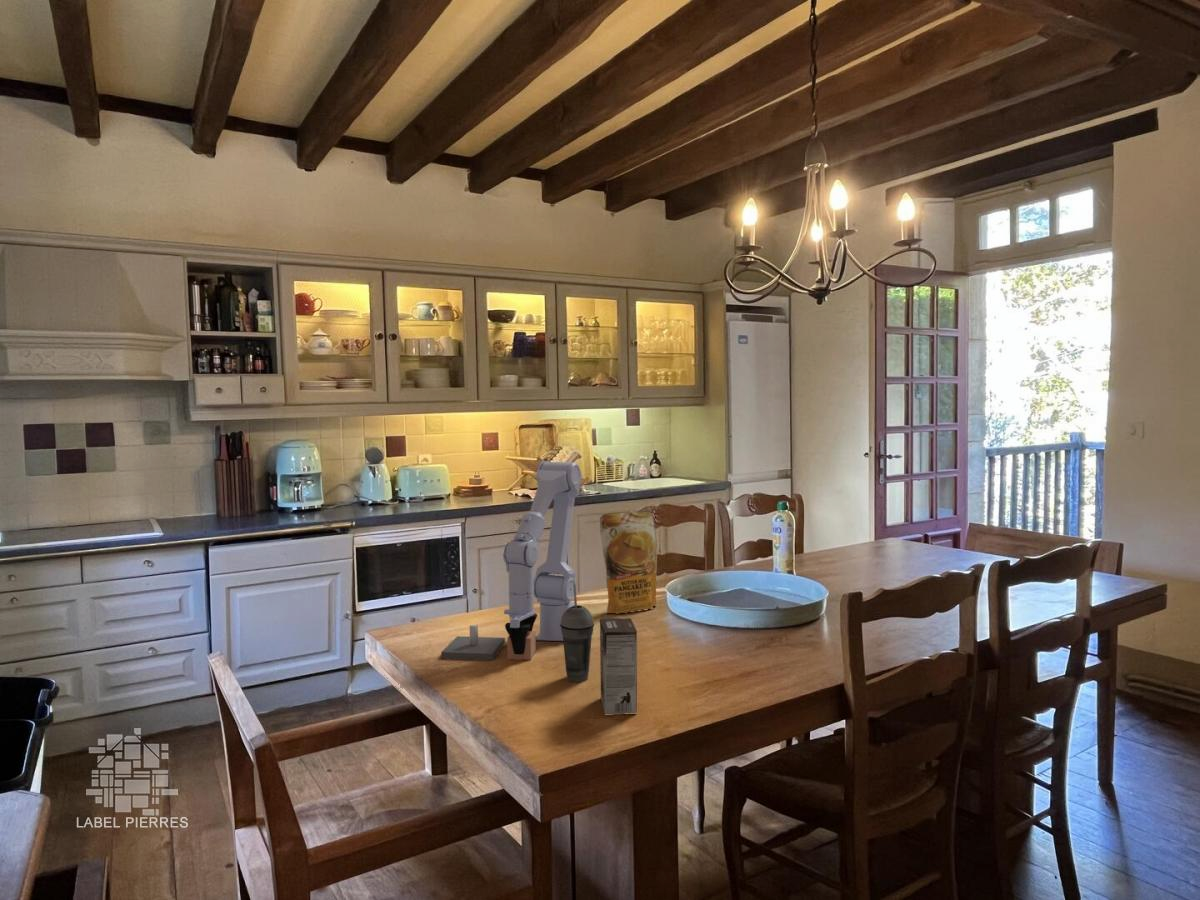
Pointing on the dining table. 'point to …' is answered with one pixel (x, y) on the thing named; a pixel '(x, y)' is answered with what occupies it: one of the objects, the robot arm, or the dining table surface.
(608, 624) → the coffee box
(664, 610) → the dining table surface
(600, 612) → the dining table surface
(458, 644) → the post board
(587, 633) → the beverage cup
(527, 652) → the collar
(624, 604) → the pancake mix bag
